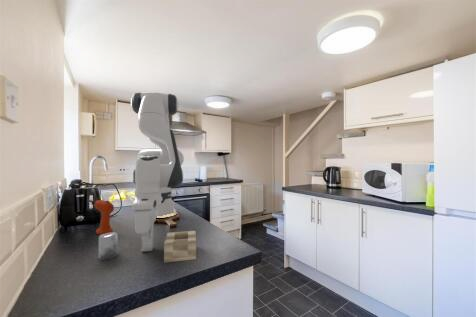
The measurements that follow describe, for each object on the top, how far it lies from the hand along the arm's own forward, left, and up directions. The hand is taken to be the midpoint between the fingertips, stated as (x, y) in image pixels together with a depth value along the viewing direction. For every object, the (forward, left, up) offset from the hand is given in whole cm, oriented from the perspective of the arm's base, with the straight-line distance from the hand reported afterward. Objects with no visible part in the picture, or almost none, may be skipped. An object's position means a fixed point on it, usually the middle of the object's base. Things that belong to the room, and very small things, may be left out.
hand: (147, 237), depth 73 cm
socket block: (+6, +12, -4) cm, 14 cm away
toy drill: (-26, -26, -5) cm, 37 cm away
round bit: (+2, -12, -4) cm, 13 cm away
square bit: (0, 0, -4) cm, 4 cm away
